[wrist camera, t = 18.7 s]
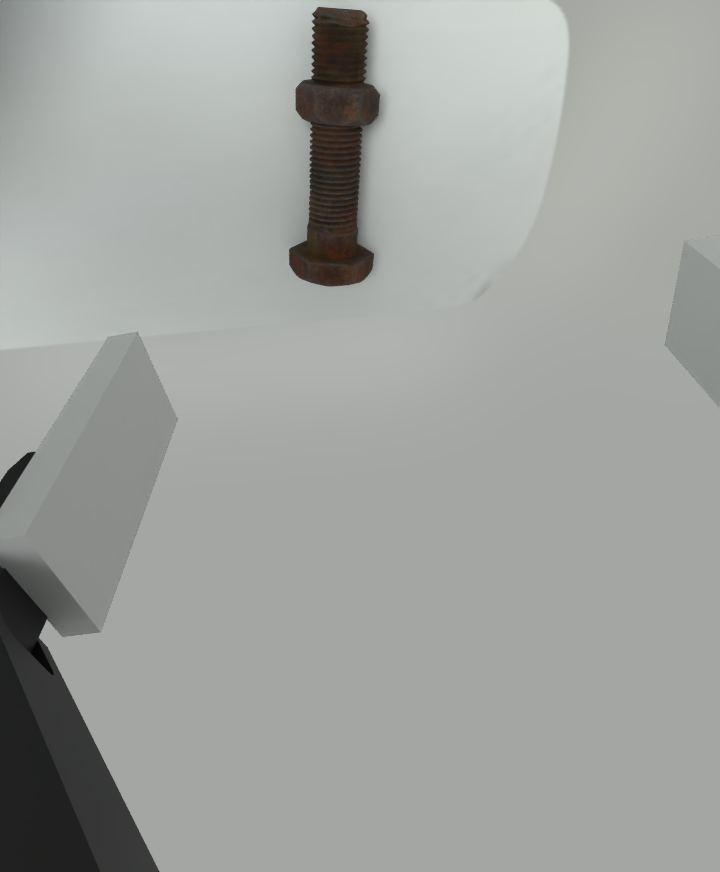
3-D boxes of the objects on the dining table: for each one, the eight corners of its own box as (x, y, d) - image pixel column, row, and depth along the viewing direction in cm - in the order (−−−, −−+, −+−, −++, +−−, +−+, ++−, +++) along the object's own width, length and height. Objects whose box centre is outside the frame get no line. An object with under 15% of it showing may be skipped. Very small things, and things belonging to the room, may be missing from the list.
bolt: (353, 9, 35) (341, 254, 44) (276, 3, 33) (280, 263, 42) (408, 14, 31) (383, 282, 40) (326, 8, 29) (319, 293, 38)
